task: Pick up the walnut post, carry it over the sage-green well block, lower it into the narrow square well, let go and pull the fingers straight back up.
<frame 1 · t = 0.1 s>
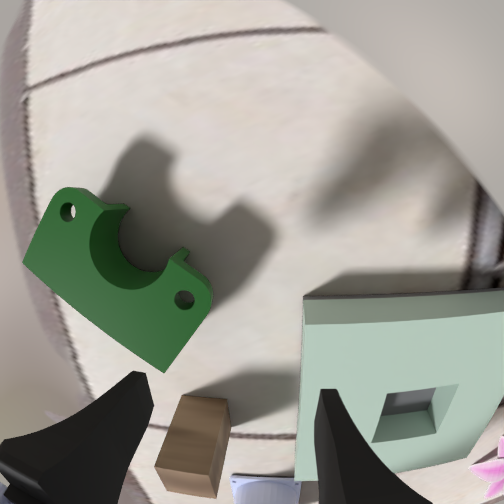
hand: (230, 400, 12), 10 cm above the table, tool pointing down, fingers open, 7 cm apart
post: (207, 412, 26), on the table
well block: (404, 386, 23), on the table
lily: (502, 446, 27), on the table
clamp: (141, 253, 22), on the table
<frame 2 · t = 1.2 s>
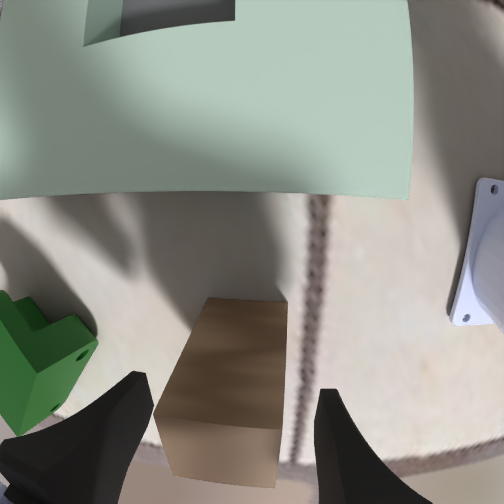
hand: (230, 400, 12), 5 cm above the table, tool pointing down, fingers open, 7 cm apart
post: (247, 333, 17), on the table
clamp: (47, 339, 20), on the table
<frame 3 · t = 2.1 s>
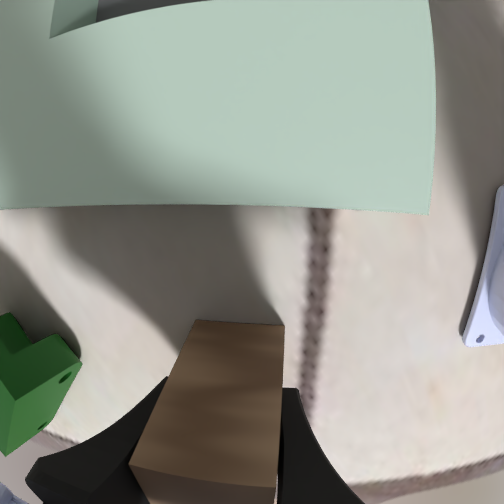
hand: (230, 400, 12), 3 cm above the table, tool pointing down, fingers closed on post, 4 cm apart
post: (240, 358, 15), on the table, touching gripper
clamp: (31, 356, 18), on the table
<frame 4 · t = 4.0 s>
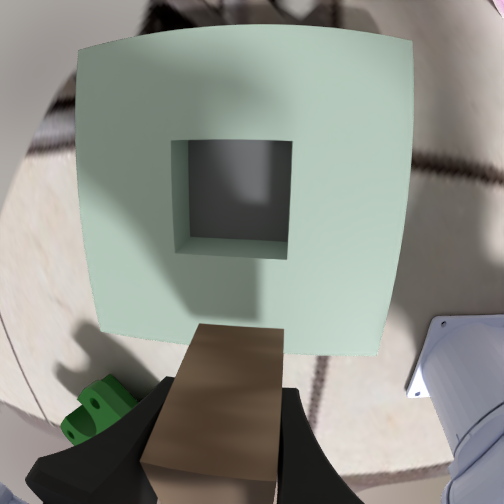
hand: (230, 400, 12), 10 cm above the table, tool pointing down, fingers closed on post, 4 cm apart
post: (241, 359, 16), point 6 cm above the table, touching gripper
well block: (239, 188, 19), on the table
clamp: (122, 400, 28), on the table
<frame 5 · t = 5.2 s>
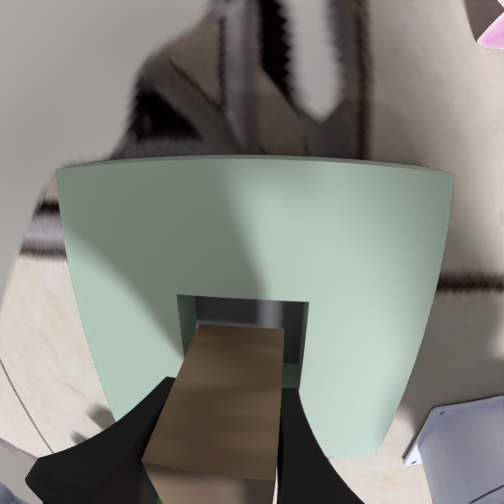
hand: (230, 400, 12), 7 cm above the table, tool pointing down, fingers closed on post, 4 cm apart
post: (241, 359, 16), point 3 cm above the table, touching gripper
well block: (249, 316, 19), on the table
when the fingers open (5 cm above the table, at t = 6.1 s): post stays where it is, resting on well block.
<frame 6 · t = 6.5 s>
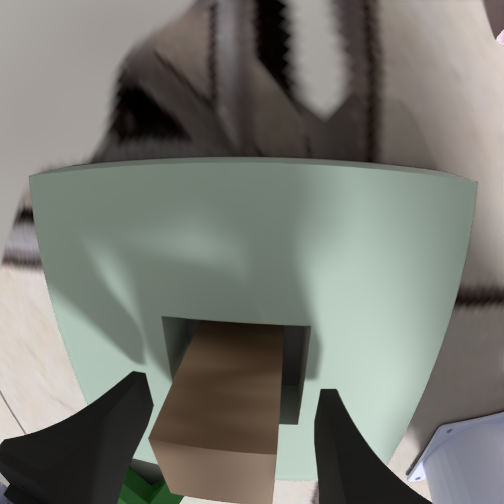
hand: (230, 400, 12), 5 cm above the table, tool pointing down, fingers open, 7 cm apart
post: (244, 348, 17), resting on well block
well block: (245, 334, 17), on the table
clamp: (134, 478, 25), on the table
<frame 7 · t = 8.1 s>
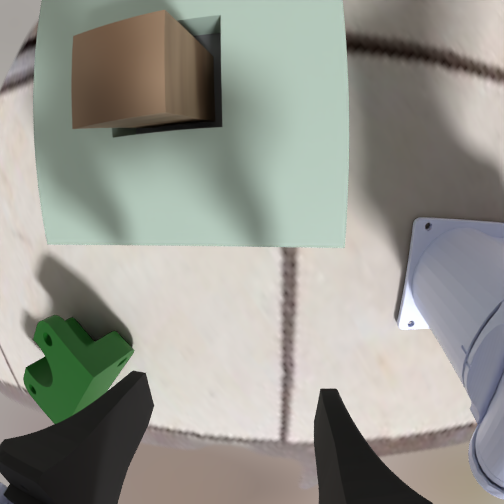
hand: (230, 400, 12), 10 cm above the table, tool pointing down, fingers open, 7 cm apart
post: (180, 91, 17), resting on well block
well block: (183, 84, 17), on the table
clamp: (86, 350, 26), on the table
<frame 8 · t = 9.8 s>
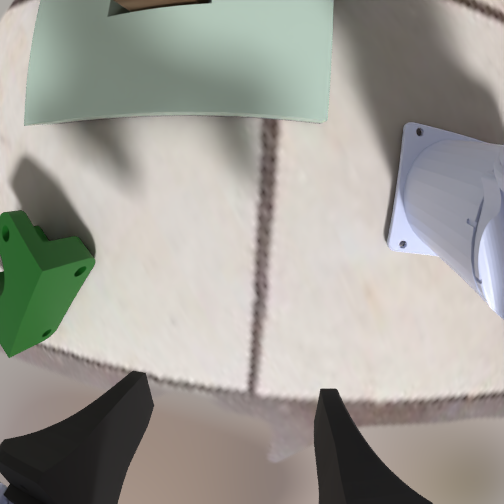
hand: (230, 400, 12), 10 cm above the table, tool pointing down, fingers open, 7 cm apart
clamp: (48, 267, 23), on the table
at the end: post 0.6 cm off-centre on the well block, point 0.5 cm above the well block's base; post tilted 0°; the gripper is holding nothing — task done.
